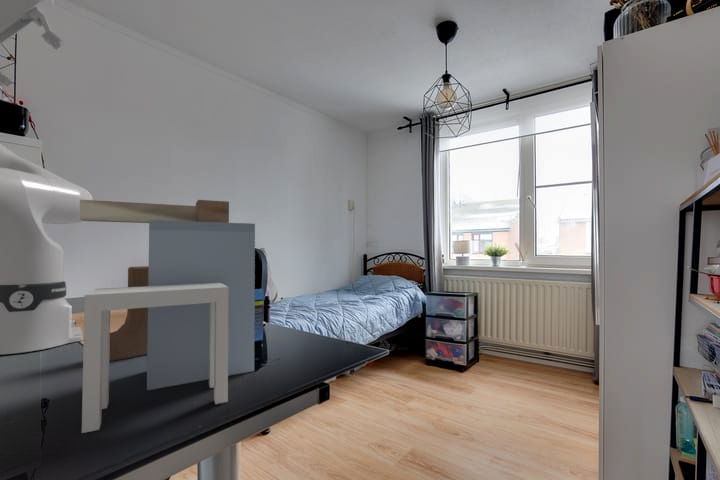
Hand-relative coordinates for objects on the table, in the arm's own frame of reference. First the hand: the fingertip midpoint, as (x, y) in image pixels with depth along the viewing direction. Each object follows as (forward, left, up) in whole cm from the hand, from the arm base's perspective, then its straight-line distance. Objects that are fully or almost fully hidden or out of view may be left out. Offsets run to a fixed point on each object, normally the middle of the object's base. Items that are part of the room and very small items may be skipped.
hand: (34, 64), depth 51 cm
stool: (+14, +17, -50) cm, 54 cm away
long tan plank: (+2, +17, -24) cm, 29 cm away
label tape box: (-13, +33, -50) cm, 62 cm away
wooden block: (-15, +11, -50) cm, 53 cm away
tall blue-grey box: (+2, +23, -50) cm, 55 cm away
